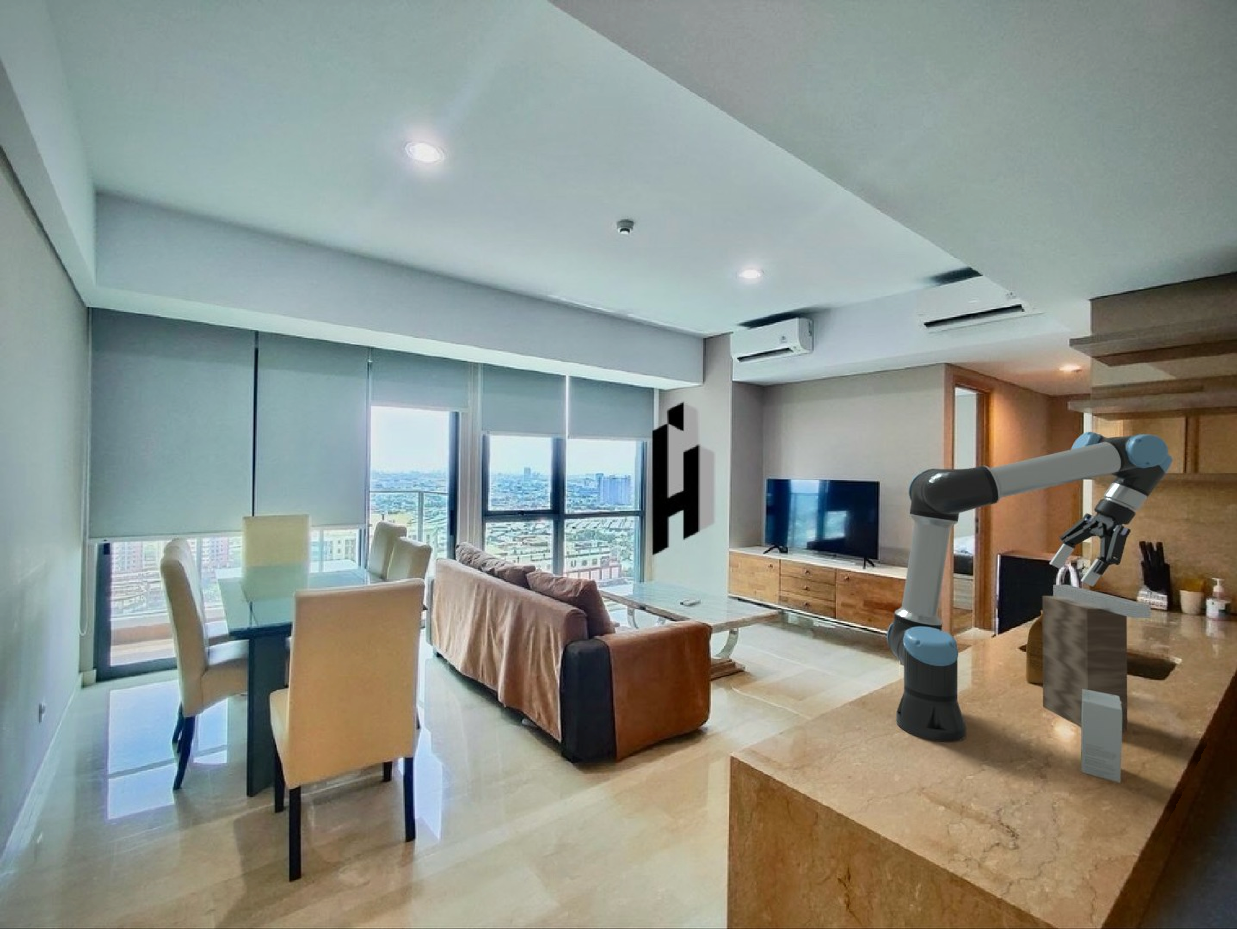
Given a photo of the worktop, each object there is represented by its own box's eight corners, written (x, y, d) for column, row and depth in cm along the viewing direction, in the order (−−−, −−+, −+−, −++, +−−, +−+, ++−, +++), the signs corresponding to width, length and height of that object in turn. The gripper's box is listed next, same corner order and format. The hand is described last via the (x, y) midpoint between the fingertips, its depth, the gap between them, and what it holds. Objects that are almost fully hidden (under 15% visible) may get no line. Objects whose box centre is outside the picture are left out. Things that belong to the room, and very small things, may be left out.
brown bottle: (1072, 681, 170) (1072, 609, 170) (1061, 691, 162) (1061, 615, 162) (1032, 672, 177) (1032, 603, 178) (1020, 681, 170) (1020, 609, 170)
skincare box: (1081, 757, 124) (1080, 687, 125) (1120, 768, 120) (1120, 695, 120) (1081, 773, 118) (1080, 699, 118) (1123, 784, 114) (1123, 708, 114)
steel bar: (1150, 618, 129) (1150, 605, 129) (1133, 618, 129) (1133, 605, 129) (1067, 595, 152) (1067, 584, 152) (1053, 595, 152) (1053, 584, 152)
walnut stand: (1127, 730, 138) (1126, 608, 138) (1087, 730, 137) (1087, 608, 138) (1078, 706, 152) (1078, 595, 152) (1042, 706, 151) (1042, 595, 152)
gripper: (1172, 523, 130) (1117, 599, 134) (1100, 501, 154) (1055, 566, 159) (1141, 508, 131) (1086, 584, 135) (1074, 489, 155) (1030, 553, 159)
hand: (1069, 574), depth 147 cm, fingers open, 13 cm apart
